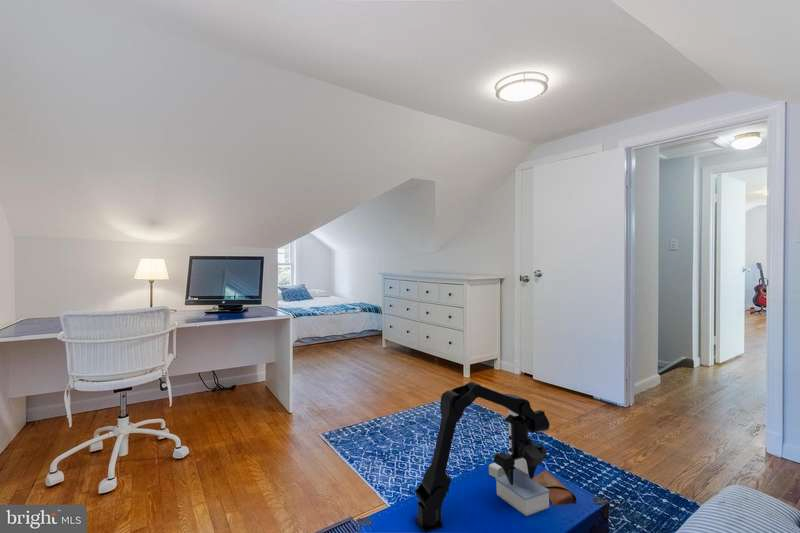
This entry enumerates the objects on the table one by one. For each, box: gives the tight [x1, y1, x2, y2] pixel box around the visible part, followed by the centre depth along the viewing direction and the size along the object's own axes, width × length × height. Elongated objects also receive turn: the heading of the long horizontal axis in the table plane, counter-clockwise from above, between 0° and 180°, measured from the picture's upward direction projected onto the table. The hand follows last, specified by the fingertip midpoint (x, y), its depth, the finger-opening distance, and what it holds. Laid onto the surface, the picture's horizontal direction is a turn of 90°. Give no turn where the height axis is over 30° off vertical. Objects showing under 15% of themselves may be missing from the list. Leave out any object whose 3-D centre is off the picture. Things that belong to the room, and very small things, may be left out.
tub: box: [495, 480, 550, 517], centre depth 129 cm, size 10×14×5 cm
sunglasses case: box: [532, 469, 577, 507], centre depth 135 cm, size 18×7×7 cm
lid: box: [494, 468, 550, 500], centre depth 129 cm, size 10×14×6 cm
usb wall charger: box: [488, 462, 506, 479], centre depth 145 cm, size 4×7×4 cm, turn 36°
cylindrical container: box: [507, 409, 529, 475], centre depth 150 cm, size 7×7×25 cm
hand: (521, 481), depth 129 cm, fingers open, 8 cm apart
